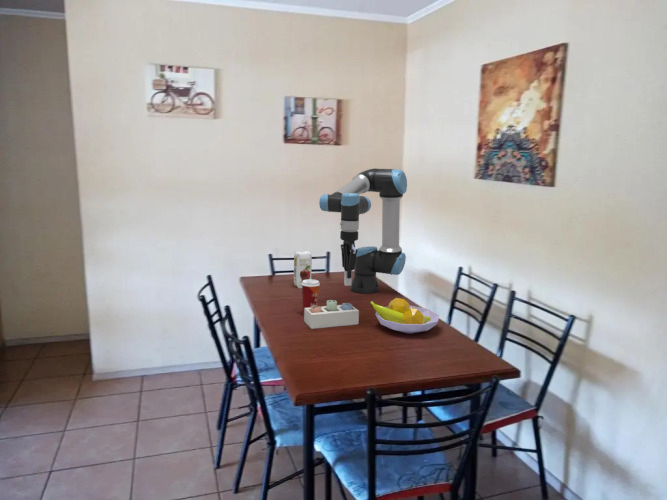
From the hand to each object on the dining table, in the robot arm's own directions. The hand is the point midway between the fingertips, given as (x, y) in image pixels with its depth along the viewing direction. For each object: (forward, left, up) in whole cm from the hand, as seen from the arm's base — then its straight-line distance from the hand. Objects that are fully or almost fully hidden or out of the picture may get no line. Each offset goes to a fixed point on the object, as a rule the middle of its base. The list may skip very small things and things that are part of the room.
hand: (347, 285), depth 218 cm
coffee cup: (+12, -15, -16) cm, 25 cm away
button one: (0, 0, -15) cm, 15 cm away
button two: (+7, 0, -13) cm, 14 cm away
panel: (+7, 0, -16) cm, 18 cm away
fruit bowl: (-20, +14, -16) cm, 30 cm away
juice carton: (+1, -61, -16) cm, 63 cm away
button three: (+14, 0, -15) cm, 20 cm away
